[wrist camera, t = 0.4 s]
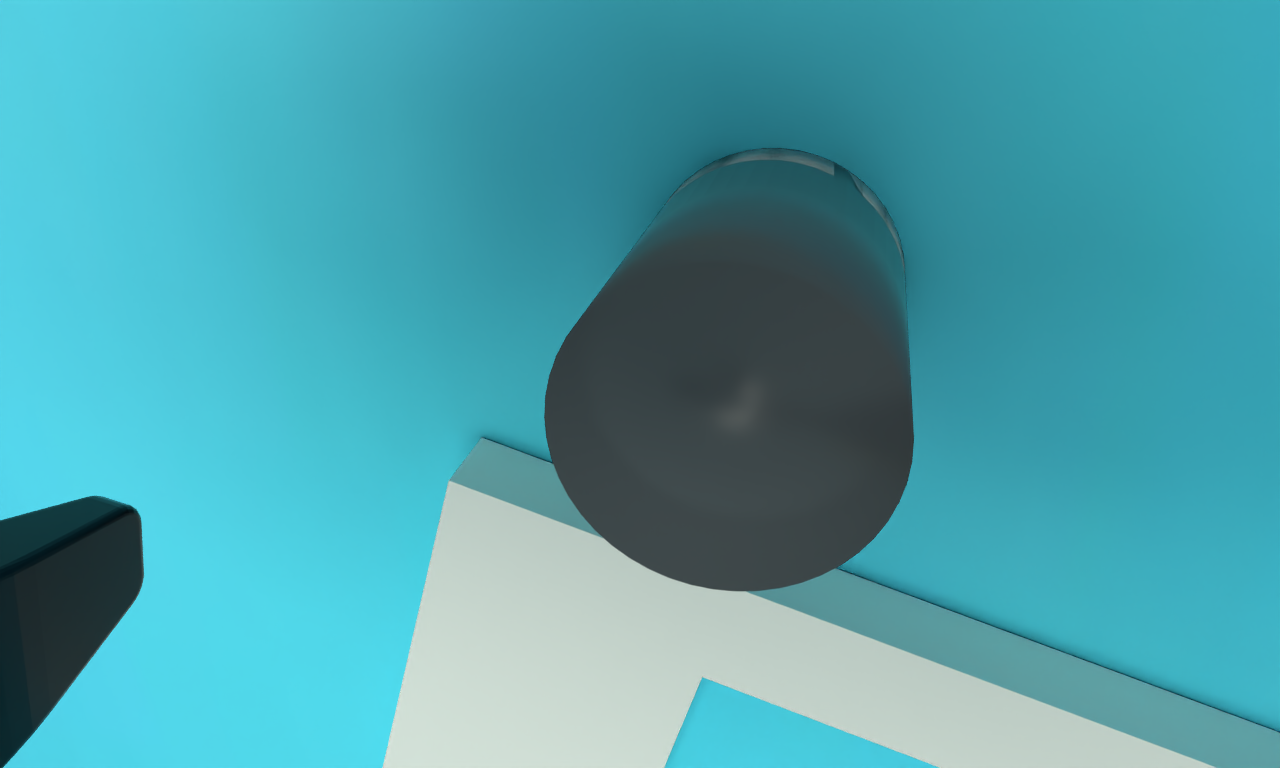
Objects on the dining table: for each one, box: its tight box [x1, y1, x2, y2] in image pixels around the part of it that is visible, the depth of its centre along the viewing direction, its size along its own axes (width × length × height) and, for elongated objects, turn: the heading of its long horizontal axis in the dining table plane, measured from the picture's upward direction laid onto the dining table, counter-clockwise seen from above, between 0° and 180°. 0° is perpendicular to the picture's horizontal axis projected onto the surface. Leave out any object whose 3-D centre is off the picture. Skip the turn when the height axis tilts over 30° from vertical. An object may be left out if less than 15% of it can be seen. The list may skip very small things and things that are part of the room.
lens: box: [544, 148, 914, 591], centre depth 17 cm, size 5×5×7 cm
